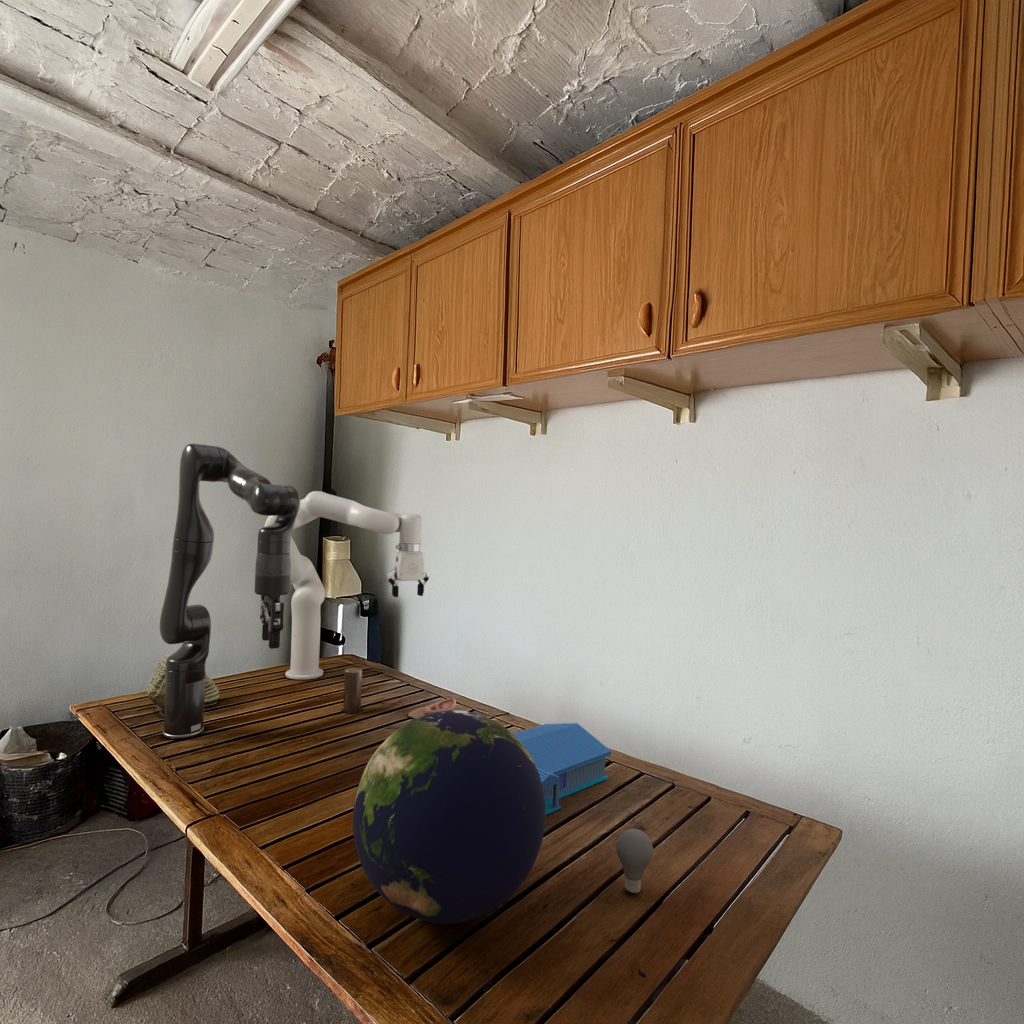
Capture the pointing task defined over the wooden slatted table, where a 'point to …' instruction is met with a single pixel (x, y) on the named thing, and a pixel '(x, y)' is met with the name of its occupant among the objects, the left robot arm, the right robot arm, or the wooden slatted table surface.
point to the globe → (449, 817)
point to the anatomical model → (434, 708)
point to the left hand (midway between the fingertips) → (270, 644)
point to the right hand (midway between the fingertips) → (407, 596)
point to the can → (352, 690)
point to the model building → (564, 759)
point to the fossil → (158, 687)
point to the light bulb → (634, 857)
